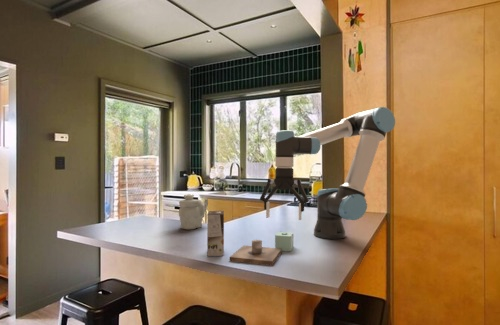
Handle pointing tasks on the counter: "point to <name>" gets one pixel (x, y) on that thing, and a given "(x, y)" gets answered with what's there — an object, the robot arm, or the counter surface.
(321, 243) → the counter surface
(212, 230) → the coffee box
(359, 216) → the robot arm
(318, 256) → the counter surface
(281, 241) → the pale green cube
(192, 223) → the teapot
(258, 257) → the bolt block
